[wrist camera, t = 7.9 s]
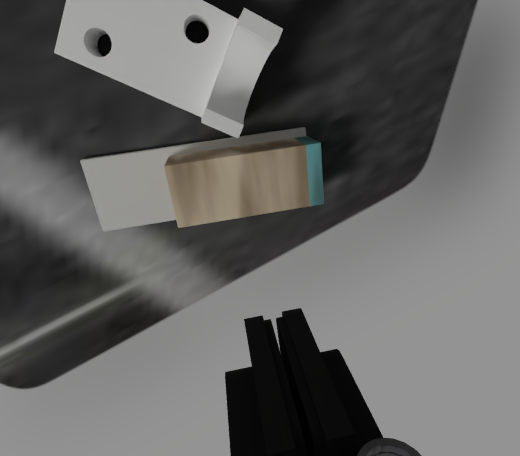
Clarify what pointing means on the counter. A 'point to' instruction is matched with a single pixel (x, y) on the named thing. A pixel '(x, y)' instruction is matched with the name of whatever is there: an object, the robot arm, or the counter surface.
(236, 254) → the counter surface
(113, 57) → the bracket
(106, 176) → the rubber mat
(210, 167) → the maple block
